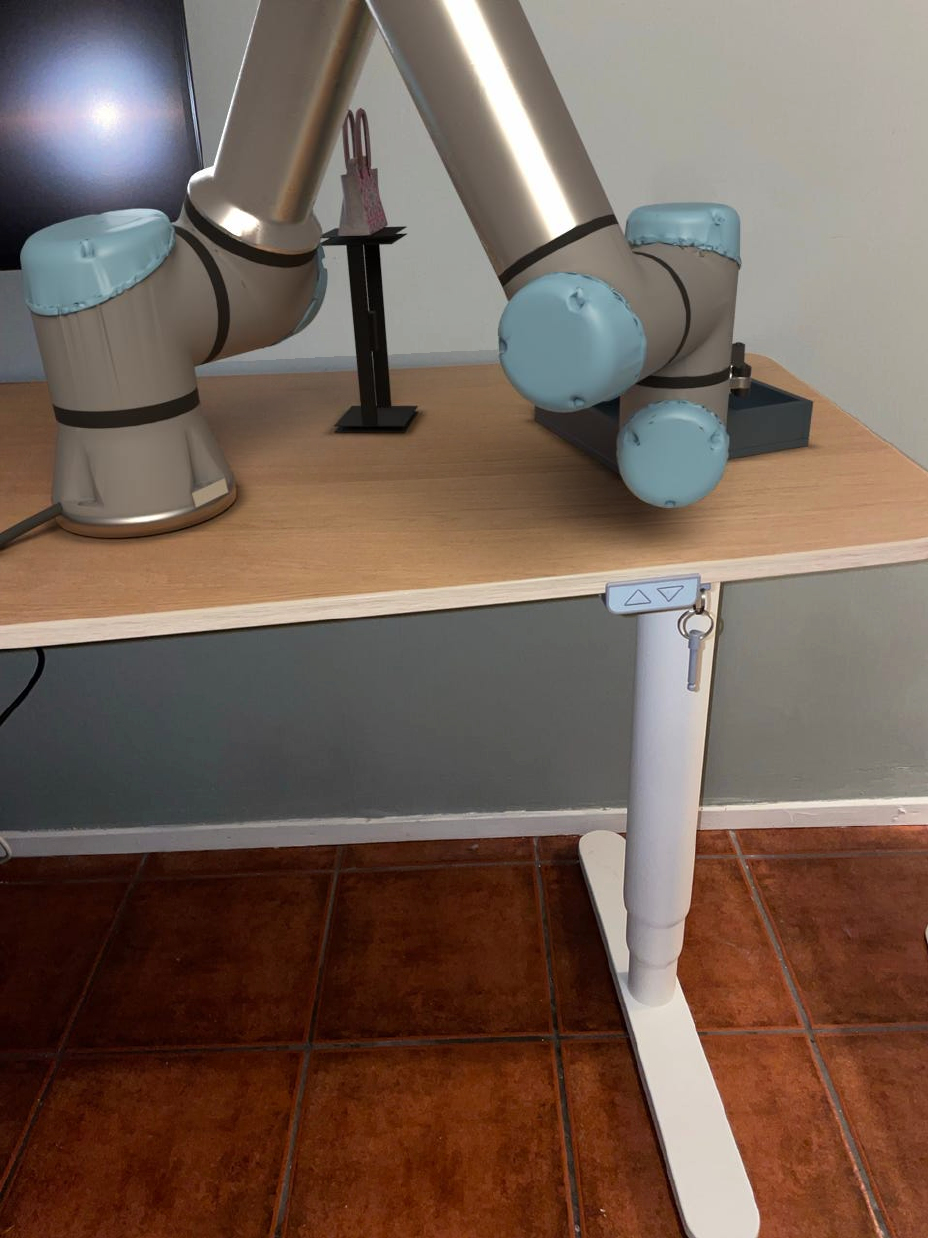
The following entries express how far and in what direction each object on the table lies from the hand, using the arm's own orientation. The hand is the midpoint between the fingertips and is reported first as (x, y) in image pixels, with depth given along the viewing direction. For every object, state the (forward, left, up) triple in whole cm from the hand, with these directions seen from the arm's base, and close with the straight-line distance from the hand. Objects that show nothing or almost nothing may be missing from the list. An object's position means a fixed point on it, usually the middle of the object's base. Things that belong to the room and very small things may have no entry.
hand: (668, 339), depth 101 cm
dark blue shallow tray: (-3, -4, -8) cm, 10 cm away
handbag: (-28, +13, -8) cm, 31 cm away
